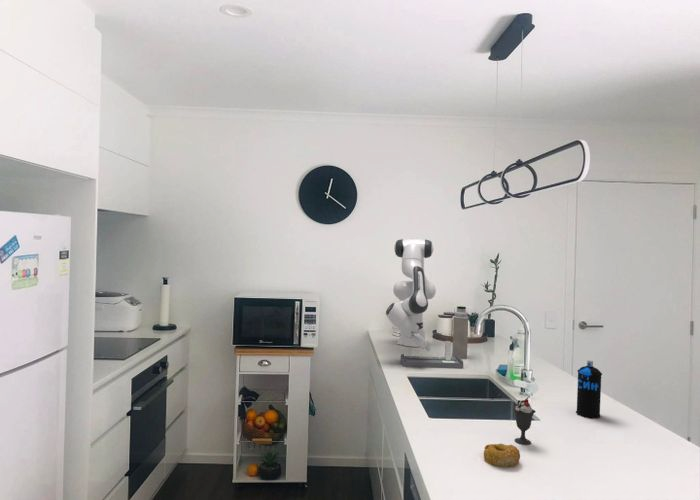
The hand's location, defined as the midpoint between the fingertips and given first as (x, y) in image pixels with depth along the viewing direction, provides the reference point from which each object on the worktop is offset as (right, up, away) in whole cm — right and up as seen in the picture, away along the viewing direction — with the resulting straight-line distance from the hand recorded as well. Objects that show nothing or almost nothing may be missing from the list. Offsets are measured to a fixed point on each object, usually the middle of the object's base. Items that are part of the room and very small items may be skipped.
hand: (428, 349), depth 246 cm
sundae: (+14, -9, -96) cm, 98 cm away
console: (+1, -8, 0) cm, 8 cm away
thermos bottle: (+20, -8, +19) cm, 29 cm away
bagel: (+2, -9, -110) cm, 111 cm away
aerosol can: (+47, -10, -69) cm, 84 cm away
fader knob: (+10, -5, 0) cm, 11 cm away
